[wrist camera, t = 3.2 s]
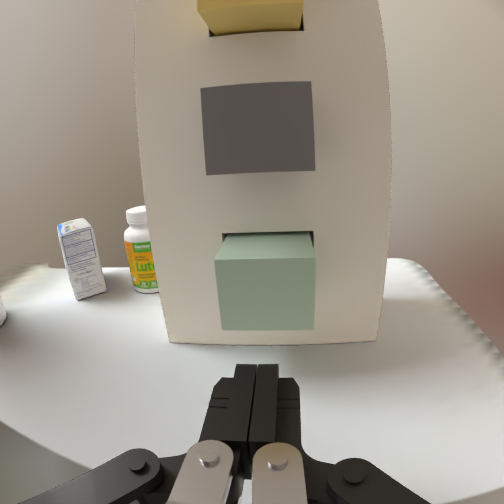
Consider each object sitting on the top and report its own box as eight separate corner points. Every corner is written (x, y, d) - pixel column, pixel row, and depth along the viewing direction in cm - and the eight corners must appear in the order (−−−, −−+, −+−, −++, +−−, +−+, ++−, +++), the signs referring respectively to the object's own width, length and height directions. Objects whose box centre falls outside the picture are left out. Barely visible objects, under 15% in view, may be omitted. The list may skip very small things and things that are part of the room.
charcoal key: (206, 175, 17) (200, 88, 16) (225, 165, 24) (221, 101, 22) (315, 170, 17) (311, 81, 15) (306, 162, 23) (303, 96, 21)
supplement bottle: (137, 298, 36) (121, 216, 32) (131, 281, 40) (118, 209, 37) (180, 287, 38) (169, 207, 35) (169, 272, 42) (159, 201, 39)
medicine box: (108, 292, 37) (93, 225, 34) (76, 302, 35) (59, 234, 32) (96, 273, 43) (84, 216, 40) (69, 281, 41) (55, 224, 38)
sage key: (222, 330, 21) (213, 259, 19) (235, 287, 27) (230, 229, 25) (313, 329, 20) (315, 257, 18) (307, 285, 26) (307, 227, 25)
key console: (169, 342, 27) (136, -28, 16) (191, 300, 35) (167, 4, 24) (376, 340, 25) (368, -45, 15) (358, 297, 33) (349, -8, 22)
